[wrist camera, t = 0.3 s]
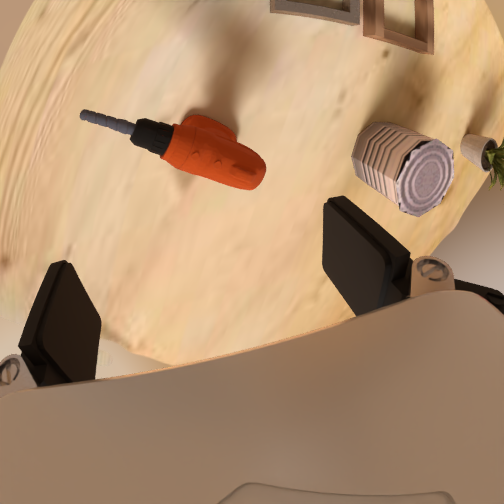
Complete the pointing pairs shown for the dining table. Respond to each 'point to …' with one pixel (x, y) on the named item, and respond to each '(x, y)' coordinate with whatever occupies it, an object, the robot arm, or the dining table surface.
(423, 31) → the walnut rack
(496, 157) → the house plant
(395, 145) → the can
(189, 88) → the dining table surface
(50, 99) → the dining table surface
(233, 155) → the toy drill
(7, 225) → the dining table surface
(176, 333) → the dining table surface
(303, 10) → the grey flat frame piece
